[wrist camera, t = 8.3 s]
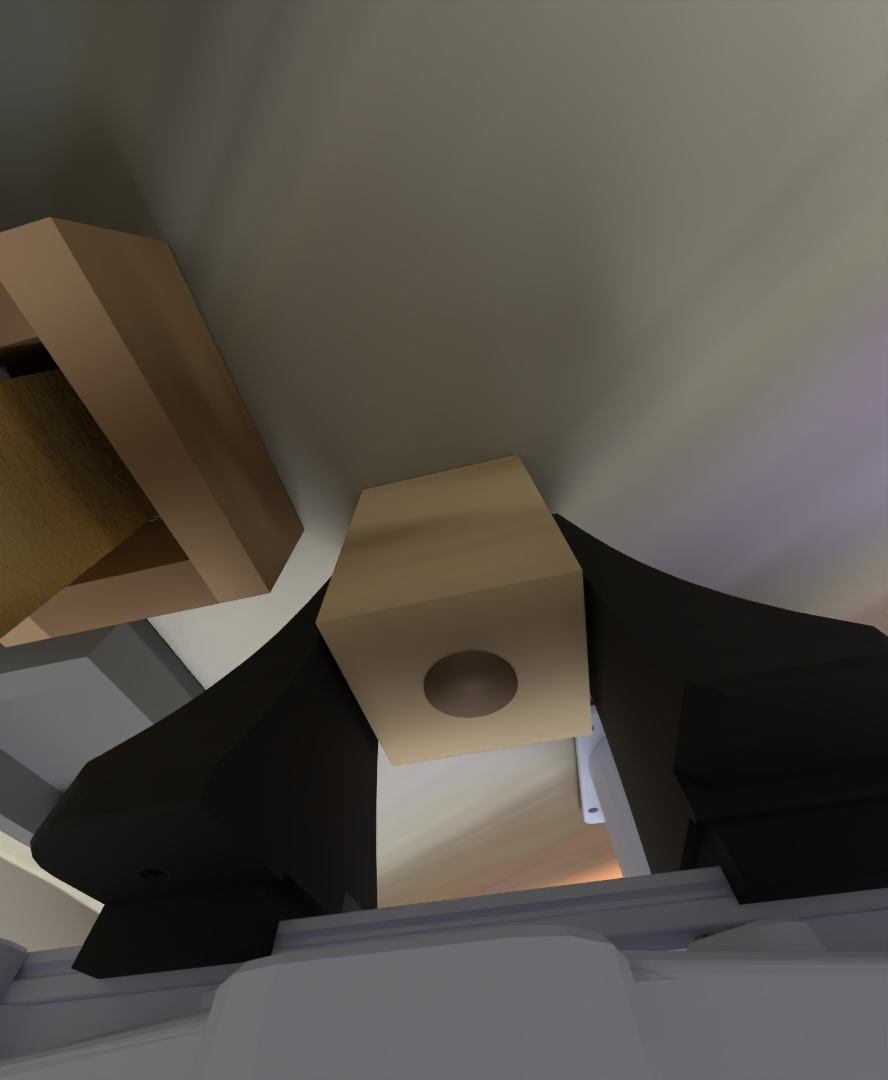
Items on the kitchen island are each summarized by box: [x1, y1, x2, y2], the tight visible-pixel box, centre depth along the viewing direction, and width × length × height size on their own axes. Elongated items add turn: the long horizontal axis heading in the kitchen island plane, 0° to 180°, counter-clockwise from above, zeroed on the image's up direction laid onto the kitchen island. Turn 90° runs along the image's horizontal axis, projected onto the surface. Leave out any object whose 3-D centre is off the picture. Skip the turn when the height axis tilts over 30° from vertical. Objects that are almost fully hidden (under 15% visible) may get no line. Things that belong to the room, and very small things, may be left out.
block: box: [316, 454, 592, 766], centre depth 10 cm, size 4×4×6 cm
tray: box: [0, 619, 205, 848], centre depth 15 cm, size 10×10×2 cm
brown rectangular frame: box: [0, 217, 304, 647], centre depth 9 cm, size 7×7×3 cm
